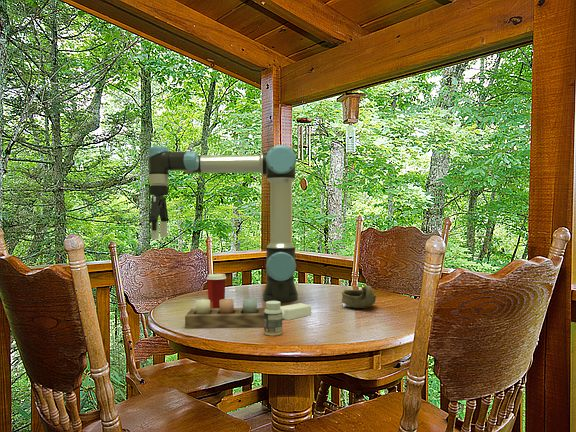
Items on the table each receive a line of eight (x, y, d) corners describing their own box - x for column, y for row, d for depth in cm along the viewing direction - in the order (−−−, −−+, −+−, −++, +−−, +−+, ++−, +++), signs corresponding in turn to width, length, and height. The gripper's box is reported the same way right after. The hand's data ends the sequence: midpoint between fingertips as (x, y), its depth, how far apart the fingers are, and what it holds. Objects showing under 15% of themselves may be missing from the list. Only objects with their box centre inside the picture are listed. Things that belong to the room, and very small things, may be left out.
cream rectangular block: (273, 318, 164) (273, 307, 164) (299, 313, 173) (299, 302, 173) (285, 322, 159) (284, 310, 159) (311, 316, 168) (311, 304, 168)
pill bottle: (263, 331, 146) (263, 300, 146) (281, 331, 146) (281, 300, 146) (264, 336, 140) (264, 304, 140) (283, 335, 141) (282, 303, 141)
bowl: (367, 303, 189) (366, 279, 189) (386, 312, 172) (386, 285, 172) (335, 305, 186) (335, 280, 186) (352, 314, 169) (352, 287, 169)
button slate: (257, 311, 159) (257, 298, 159) (256, 314, 155) (256, 301, 155) (243, 311, 159) (243, 298, 159) (242, 314, 154) (242, 301, 154)
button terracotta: (234, 311, 159) (234, 298, 159) (233, 314, 154) (232, 301, 154) (220, 311, 159) (220, 298, 159) (218, 314, 154) (218, 301, 154)
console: (265, 318, 163) (264, 307, 163) (264, 327, 151) (264, 315, 151) (191, 319, 162) (191, 308, 162) (185, 328, 150) (185, 316, 150)
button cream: (211, 311, 159) (211, 299, 159) (209, 314, 154) (209, 301, 154) (197, 311, 159) (197, 299, 159) (194, 314, 154) (194, 301, 154)
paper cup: (230, 309, 179) (229, 273, 179) (220, 313, 172) (220, 276, 171) (212, 308, 181) (212, 273, 181) (202, 312, 174) (202, 275, 174)
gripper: (157, 187, 196) (158, 236, 196) (140, 183, 171) (140, 240, 171) (175, 186, 196) (175, 236, 197) (160, 183, 171) (161, 239, 172)
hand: (159, 238), depth 184 cm, fingers open, 13 cm apart
